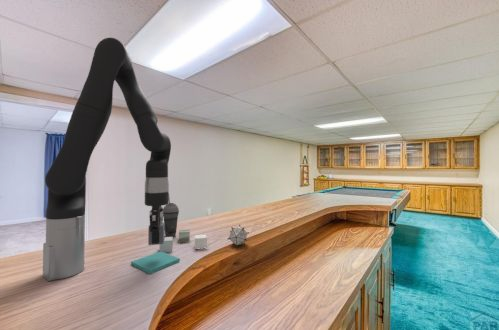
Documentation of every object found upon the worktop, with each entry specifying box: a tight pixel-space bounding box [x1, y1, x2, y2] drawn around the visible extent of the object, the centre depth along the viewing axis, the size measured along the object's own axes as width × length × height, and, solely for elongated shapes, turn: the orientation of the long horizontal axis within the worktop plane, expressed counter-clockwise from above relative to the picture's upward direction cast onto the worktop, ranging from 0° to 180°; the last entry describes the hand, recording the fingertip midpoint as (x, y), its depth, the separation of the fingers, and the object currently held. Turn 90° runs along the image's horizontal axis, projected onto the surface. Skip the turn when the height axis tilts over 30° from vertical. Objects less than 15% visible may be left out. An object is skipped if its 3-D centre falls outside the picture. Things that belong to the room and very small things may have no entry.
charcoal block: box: [147, 222, 165, 246], centre depth 75 cm, size 4×4×6 cm
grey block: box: [158, 237, 174, 253], centre depth 86 cm, size 4×4×4 cm
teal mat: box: [130, 251, 181, 275], centre depth 75 cm, size 11×11×1 cm
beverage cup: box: [163, 197, 180, 239], centre depth 103 cm, size 7×7×20 cm
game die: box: [227, 224, 250, 248], centre depth 93 cm, size 9×8×10 cm
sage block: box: [178, 228, 191, 243], centre depth 98 cm, size 4×4×4 cm
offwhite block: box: [194, 234, 208, 250], centre depth 90 cm, size 4×4×4 cm
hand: (156, 240), depth 75 cm, fingers closed on charcoal block, 4 cm apart
